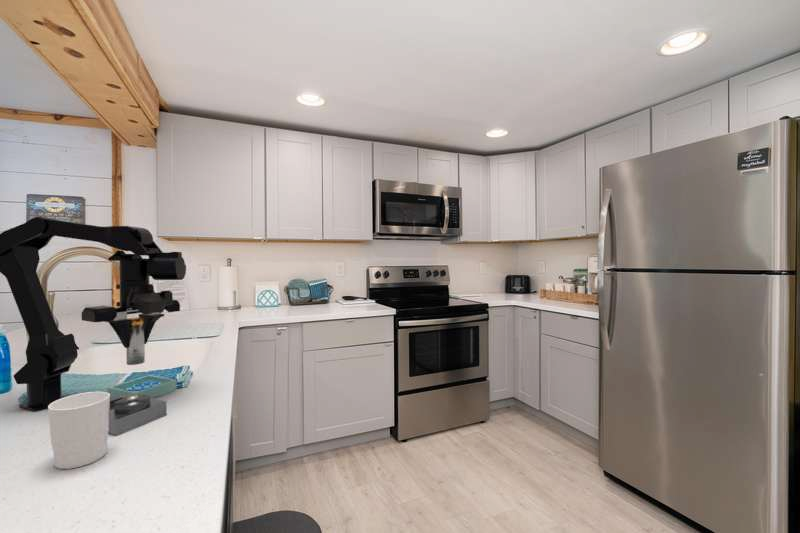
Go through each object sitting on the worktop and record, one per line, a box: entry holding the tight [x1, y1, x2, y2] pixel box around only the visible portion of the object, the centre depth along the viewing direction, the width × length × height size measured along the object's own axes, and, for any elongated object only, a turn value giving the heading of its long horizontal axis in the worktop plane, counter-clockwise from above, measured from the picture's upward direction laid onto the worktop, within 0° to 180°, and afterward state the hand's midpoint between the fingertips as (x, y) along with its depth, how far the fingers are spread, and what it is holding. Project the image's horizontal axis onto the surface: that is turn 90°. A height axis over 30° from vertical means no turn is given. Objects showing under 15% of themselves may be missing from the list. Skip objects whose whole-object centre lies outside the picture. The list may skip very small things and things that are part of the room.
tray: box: [106, 374, 178, 399], centre depth 91 cm, size 10×10×2 cm
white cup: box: [47, 391, 110, 470], centre depth 62 cm, size 8×8×10 cm
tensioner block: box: [108, 393, 168, 437], centre depth 77 cm, size 12×10×5 cm
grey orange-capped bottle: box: [125, 317, 146, 366], centre depth 87 cm, size 4×4×10 cm
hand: (135, 345), depth 87 cm, fingers closed on grey orange-capped bottle, 3 cm apart
